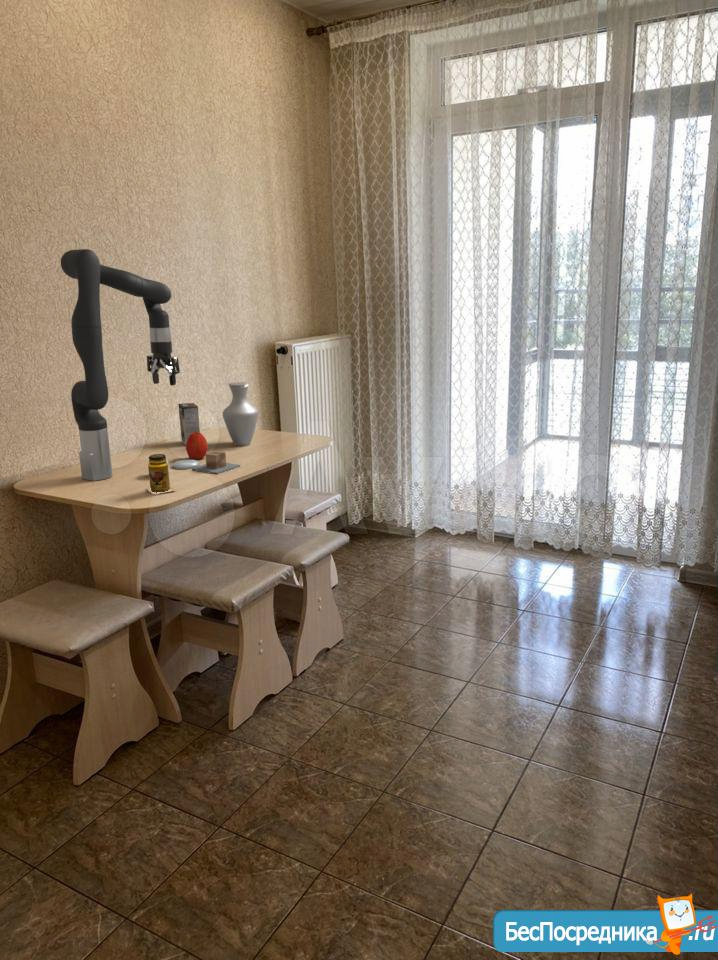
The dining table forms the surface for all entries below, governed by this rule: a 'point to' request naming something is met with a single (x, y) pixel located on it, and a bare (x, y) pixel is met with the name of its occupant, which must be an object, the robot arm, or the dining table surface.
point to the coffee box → (188, 420)
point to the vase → (240, 415)
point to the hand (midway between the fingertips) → (164, 384)
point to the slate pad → (217, 471)
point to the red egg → (196, 446)
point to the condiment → (158, 473)
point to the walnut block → (215, 459)
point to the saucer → (186, 464)
